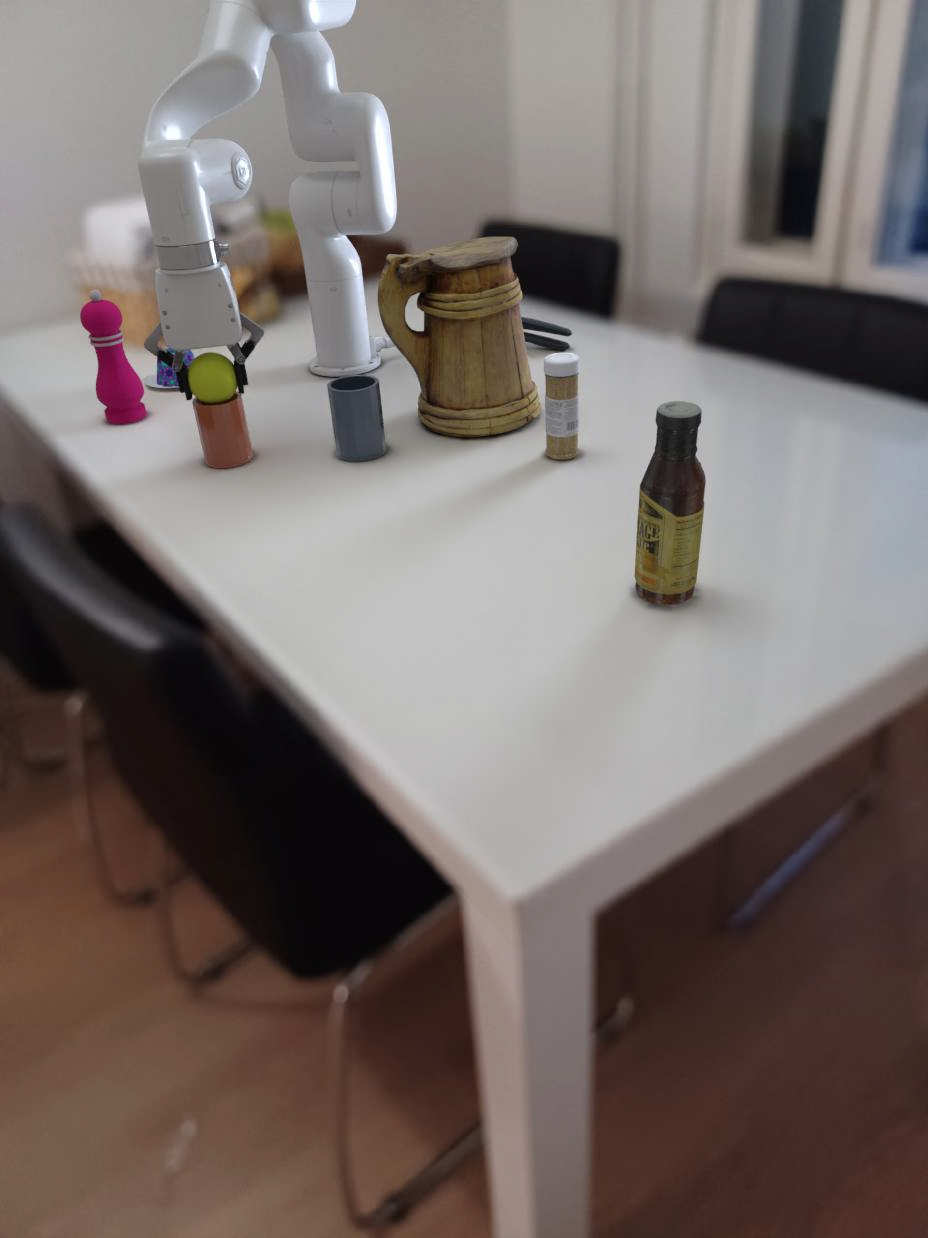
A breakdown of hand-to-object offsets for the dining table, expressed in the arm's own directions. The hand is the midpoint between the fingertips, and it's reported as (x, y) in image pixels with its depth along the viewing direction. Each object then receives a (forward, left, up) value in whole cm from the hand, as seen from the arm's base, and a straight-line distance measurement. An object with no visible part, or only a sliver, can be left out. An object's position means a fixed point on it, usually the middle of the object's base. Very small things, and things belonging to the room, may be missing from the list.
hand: (215, 392), depth 130 cm
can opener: (-63, -16, -10) cm, 66 cm away
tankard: (-34, +9, -10) cm, 37 cm away
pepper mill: (+7, -28, -10) cm, 31 cm away
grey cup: (-16, +10, -10) cm, 21 cm away
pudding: (-6, -41, -10) cm, 43 cm away
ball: (0, 0, +2) cm, 2 cm away
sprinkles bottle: (-37, +29, -10) cm, 48 cm away
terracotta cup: (0, 0, -10) cm, 10 cm away
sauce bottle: (-23, +65, -10) cm, 70 cm away
